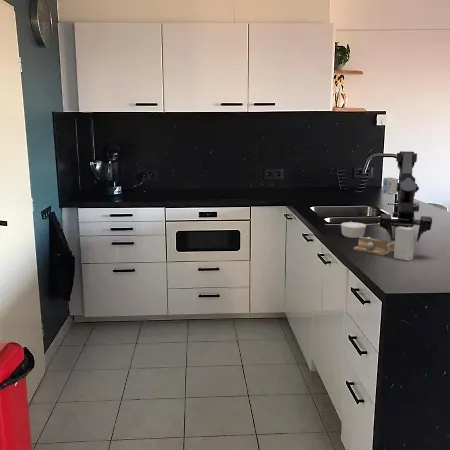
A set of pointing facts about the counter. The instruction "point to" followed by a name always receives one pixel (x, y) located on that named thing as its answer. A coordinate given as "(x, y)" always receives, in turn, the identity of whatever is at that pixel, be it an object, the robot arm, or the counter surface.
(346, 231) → the ramekin
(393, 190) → the light bulb box
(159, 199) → the counter surface
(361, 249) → the cradle
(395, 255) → the skincare box
